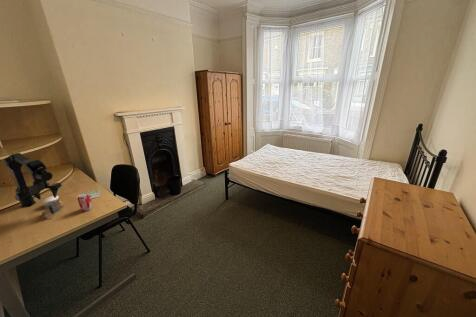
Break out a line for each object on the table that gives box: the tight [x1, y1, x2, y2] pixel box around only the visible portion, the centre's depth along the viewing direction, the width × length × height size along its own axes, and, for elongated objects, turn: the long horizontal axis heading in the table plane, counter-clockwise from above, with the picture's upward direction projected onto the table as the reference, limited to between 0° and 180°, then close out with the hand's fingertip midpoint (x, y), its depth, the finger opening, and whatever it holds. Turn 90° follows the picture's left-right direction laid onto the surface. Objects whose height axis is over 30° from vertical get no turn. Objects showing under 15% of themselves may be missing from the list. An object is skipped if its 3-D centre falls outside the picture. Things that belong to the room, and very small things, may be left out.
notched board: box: [40, 199, 66, 221], centre depth 138 cm, size 6×16×6 cm, turn 13°
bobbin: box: [42, 195, 62, 204], centre depth 147 cm, size 9×9×6 cm
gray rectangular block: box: [44, 202, 58, 214], centre depth 137 cm, size 4×4×7 cm
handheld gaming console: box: [85, 188, 101, 200], centre depth 161 cm, size 10×2×15 cm
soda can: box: [77, 192, 94, 212], centre depth 140 cm, size 7×7×12 cm
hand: (47, 198), depth 135 cm, fingers open, 9 cm apart
